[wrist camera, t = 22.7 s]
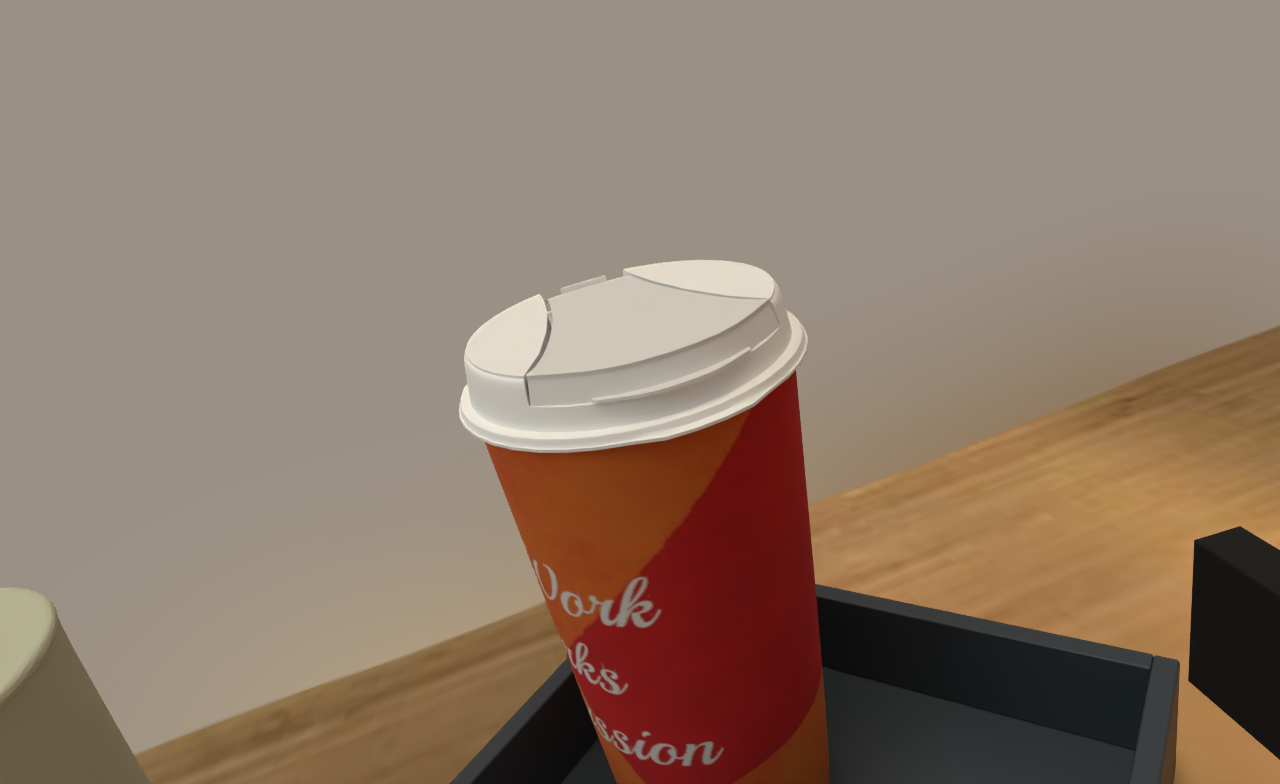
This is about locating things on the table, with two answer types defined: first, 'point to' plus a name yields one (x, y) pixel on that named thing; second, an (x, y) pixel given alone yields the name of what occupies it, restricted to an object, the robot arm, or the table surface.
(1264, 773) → the table surface
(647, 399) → the coffee cup
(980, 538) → the table surface
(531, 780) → the tray
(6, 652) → the can
